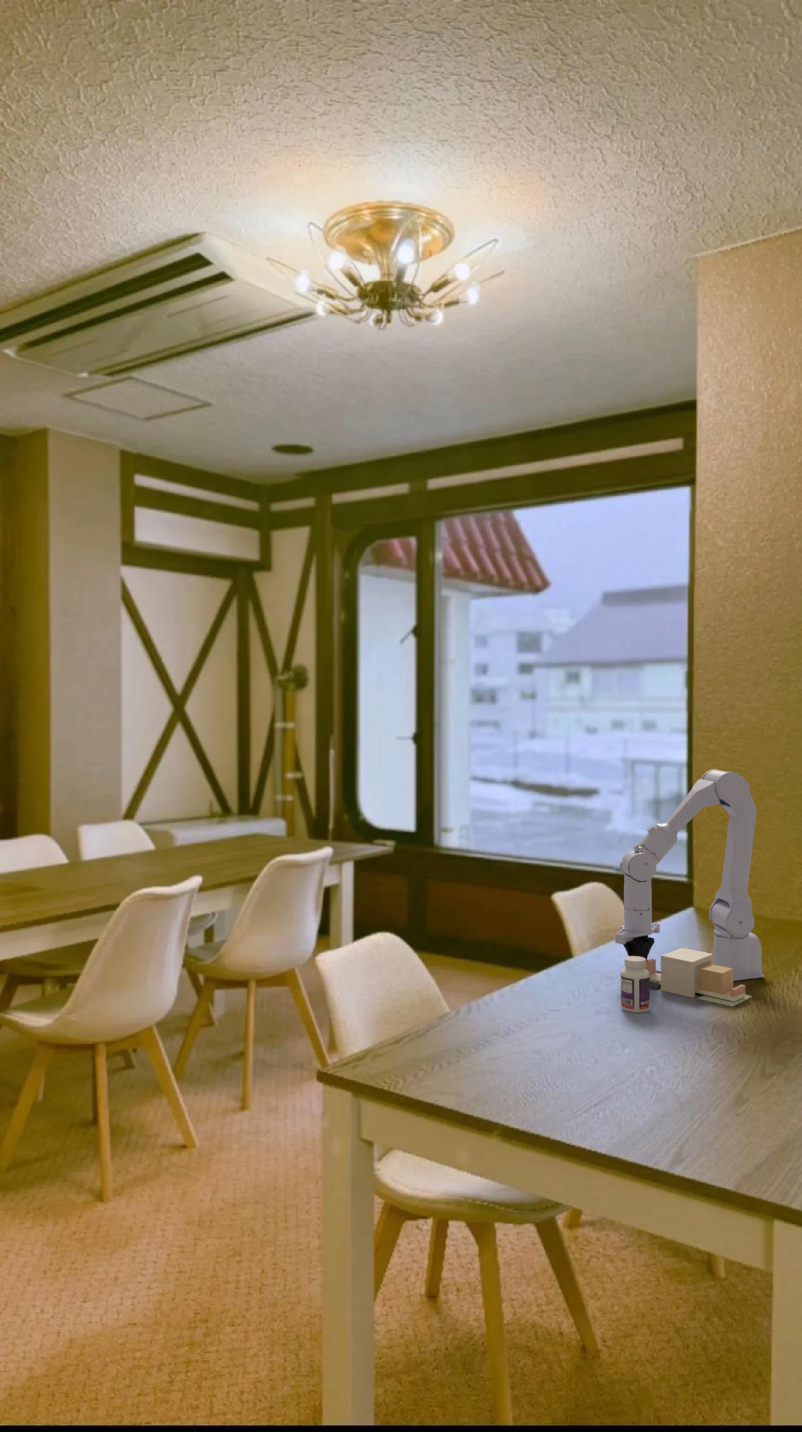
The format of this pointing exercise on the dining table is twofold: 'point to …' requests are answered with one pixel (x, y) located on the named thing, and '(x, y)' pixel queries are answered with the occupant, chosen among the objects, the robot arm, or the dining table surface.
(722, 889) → the robot arm
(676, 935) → the dining table surface
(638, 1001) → the pill bottle
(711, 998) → the pad
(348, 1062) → the dining table surface
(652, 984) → the pit tray
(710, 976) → the sled
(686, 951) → the tunnel
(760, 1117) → the dining table surface
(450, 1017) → the dining table surface
